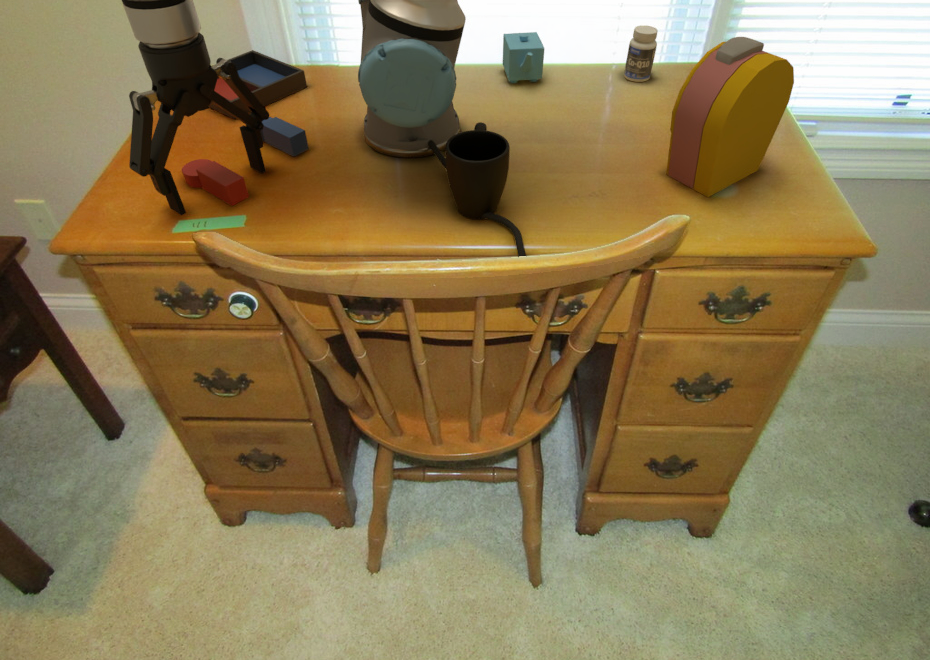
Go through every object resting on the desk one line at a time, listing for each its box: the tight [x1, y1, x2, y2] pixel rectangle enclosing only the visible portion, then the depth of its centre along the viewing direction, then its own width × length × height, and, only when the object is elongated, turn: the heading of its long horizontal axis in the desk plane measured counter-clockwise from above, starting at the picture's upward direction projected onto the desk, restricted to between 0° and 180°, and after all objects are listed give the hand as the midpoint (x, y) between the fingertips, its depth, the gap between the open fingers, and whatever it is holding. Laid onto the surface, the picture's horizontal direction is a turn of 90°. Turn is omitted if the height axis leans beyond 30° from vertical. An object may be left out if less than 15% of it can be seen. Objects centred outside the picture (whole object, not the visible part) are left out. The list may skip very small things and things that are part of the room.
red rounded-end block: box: [181, 158, 250, 207], centre depth 90 cm, size 12×5×3 cm, turn 51°
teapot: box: [502, 31, 545, 84], centre depth 113 cm, size 12×6×8 cm, turn 6°
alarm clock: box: [665, 36, 795, 198], centre depth 86 cm, size 15×8×18 cm, turn 127°
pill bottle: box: [623, 24, 659, 83], centre depth 112 cm, size 5×5×8 cm
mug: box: [444, 121, 511, 221], centre depth 85 cm, size 8×12×10 cm
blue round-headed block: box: [260, 116, 310, 158], centre depth 99 cm, size 12×5×3 cm, turn 51°
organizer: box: [208, 49, 308, 120], centre depth 112 cm, size 15×16×3 cm
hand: (220, 189), depth 91 cm, fingers open, 13 cm apart
